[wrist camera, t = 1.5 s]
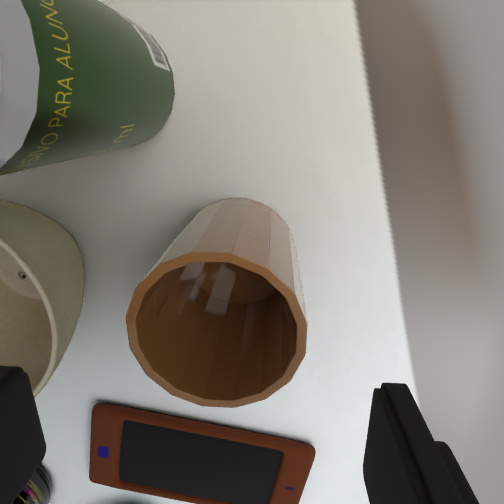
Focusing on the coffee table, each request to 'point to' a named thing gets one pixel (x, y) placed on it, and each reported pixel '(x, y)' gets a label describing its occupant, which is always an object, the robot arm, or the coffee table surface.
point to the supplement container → (36, 489)
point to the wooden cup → (222, 308)
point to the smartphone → (194, 459)
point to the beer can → (76, 82)
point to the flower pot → (37, 292)
